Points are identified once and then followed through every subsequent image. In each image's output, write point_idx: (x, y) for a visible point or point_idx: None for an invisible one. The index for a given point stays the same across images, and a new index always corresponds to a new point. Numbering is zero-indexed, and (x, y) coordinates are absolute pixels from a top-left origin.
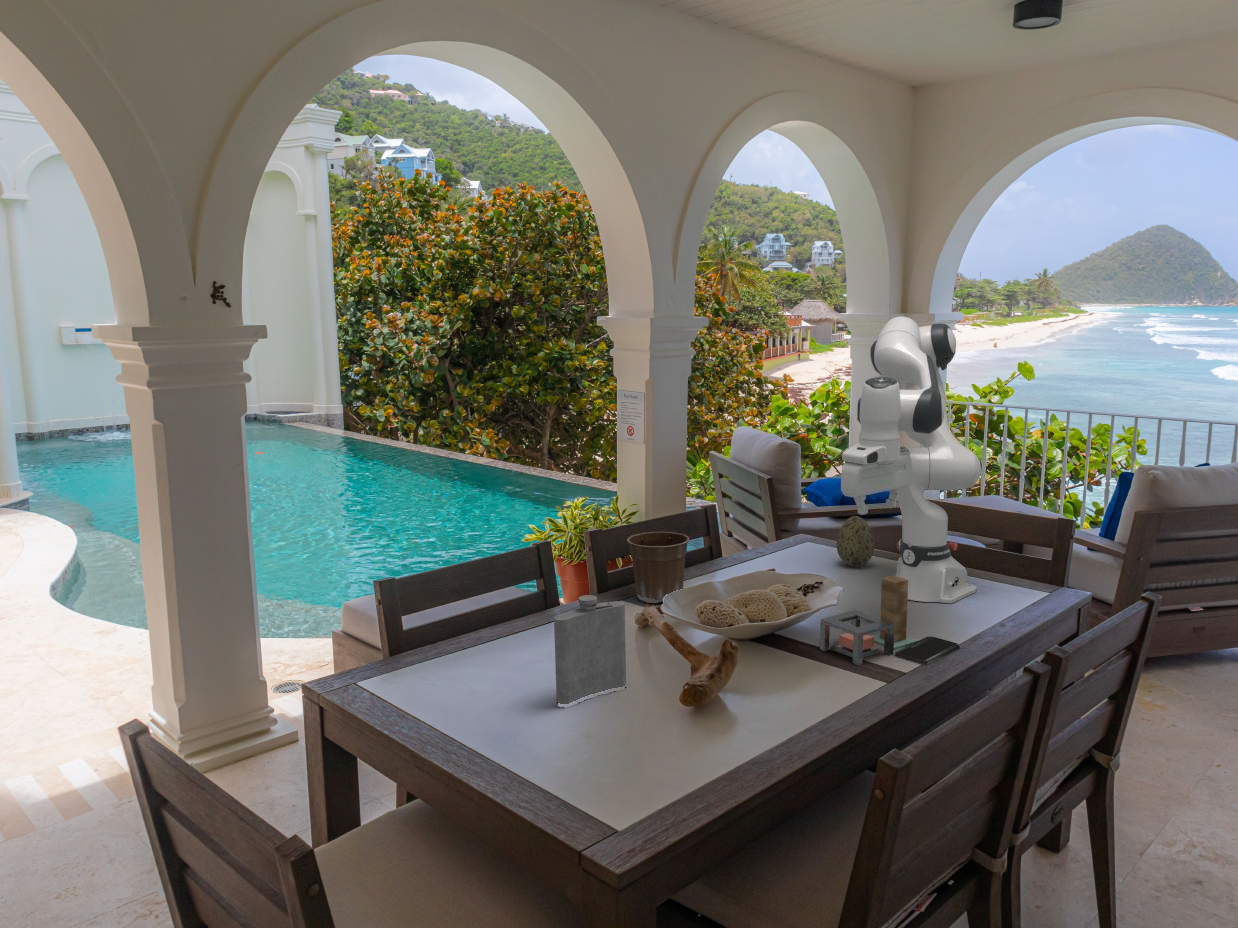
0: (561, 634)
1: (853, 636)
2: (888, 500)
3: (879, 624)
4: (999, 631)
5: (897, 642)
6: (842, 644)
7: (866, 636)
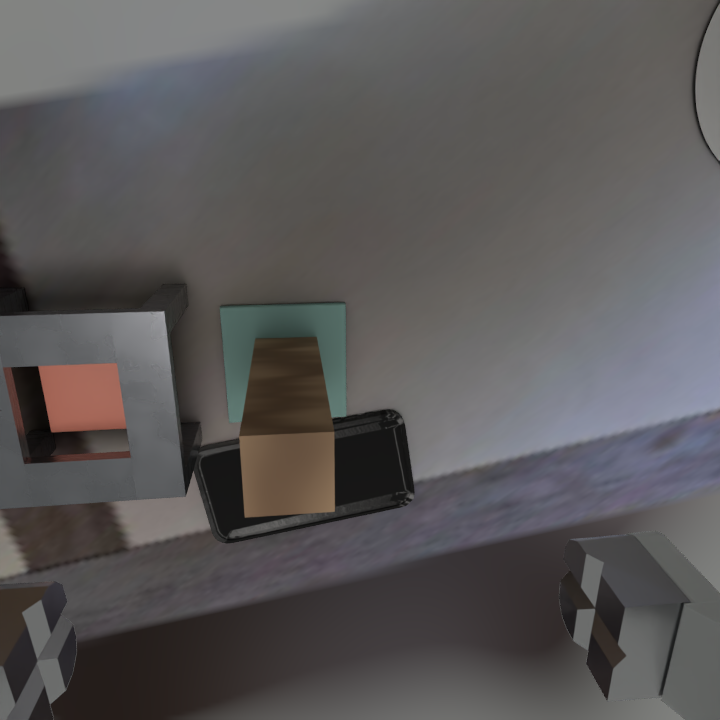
0: None
1: None
2: (618, 640)
3: (124, 480)
4: (611, 468)
5: None
6: None
7: (120, 409)
